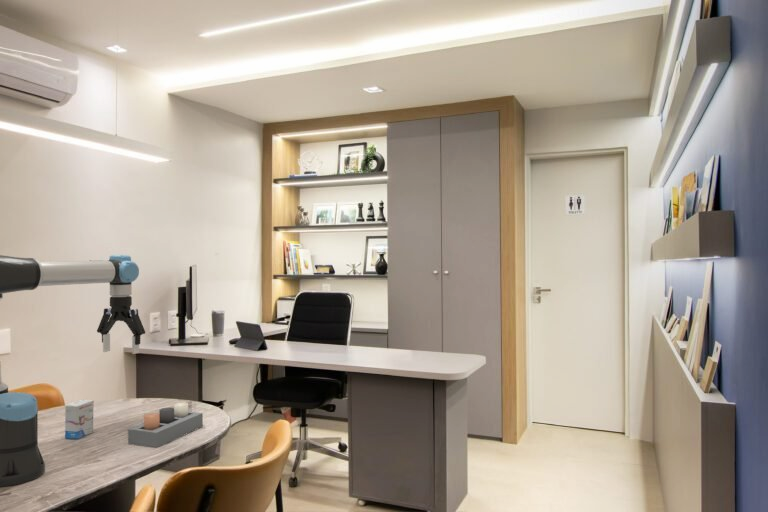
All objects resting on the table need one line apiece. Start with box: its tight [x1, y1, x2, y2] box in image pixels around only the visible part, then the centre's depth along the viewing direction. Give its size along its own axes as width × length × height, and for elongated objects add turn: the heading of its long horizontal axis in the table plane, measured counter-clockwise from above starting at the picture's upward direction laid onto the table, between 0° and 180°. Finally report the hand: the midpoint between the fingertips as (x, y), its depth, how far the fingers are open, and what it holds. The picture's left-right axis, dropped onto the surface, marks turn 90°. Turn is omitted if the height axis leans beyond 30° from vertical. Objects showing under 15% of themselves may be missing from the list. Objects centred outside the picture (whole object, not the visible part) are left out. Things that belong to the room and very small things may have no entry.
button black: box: [158, 407, 174, 424], centre depth 202 cm, size 5×5×6 cm
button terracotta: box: [143, 412, 160, 430], centre depth 195 cm, size 5×5×6 cm
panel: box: [127, 411, 204, 448], centre depth 202 cm, size 24×12×5 cm, turn 160°
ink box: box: [64, 399, 95, 440], centre depth 202 cm, size 9×5×12 cm, turn 168°
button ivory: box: [173, 401, 189, 418], centre depth 209 cm, size 5×5×6 cm
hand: (121, 352), depth 213 cm, fingers open, 13 cm apart
